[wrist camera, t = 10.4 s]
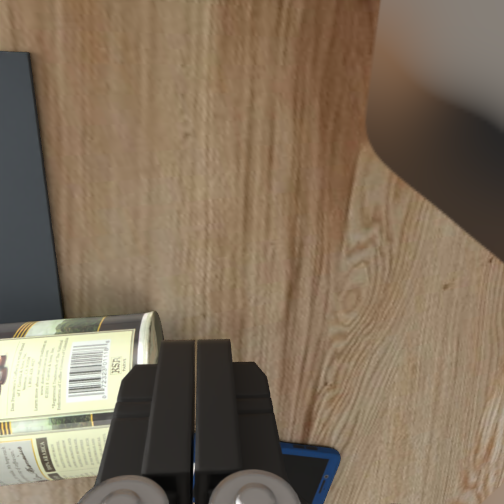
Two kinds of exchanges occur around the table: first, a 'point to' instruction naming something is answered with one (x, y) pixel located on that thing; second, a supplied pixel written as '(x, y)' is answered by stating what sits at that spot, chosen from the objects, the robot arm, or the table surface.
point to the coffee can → (65, 390)
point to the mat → (24, 203)
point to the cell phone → (305, 470)
